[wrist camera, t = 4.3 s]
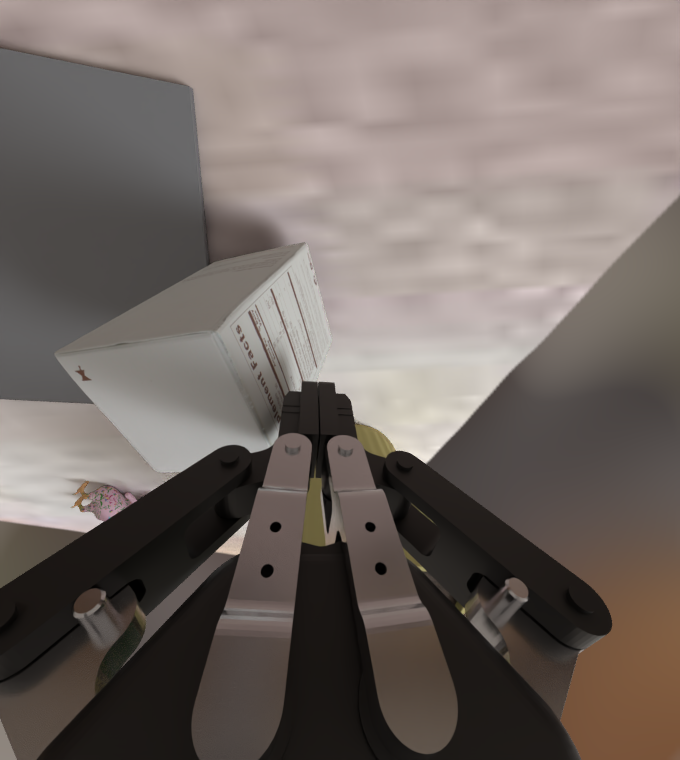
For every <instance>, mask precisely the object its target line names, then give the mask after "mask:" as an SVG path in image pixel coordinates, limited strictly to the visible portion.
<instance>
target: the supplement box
mask: <svg viewBox="0 0 680 760" xmlns="http://www.w3.org/2000/svg"><path fill="white" fill-rule="evenodd" d="M331 342H332V336H331V332H330V328H329V324H328V321H327V317H326V313H325V309H324V305H323V302H322V298H321V294H320V290H319V286H318V282H317V278H316V274H315V271H314V267H313V263H312V260H311V256H310V252H309V248H308V245H307V243H299V244H294V245H288V246H283V247H279V248H274V249H269V250H265V251H260V252H256V253H251V254H247V255H242V256H238V257H233V258H229V259H224V260H220V261H215V262H213V263H212V264H210V265H208V266H206V267H205V268H203V269H201V270H199V271H197V272H196V273H194V274H192V275H191V276H189V277H187V278H185V279H184V280H182V281H180V282H178V283H176V284H174V285H173V286H171V287H169V288H167V289H166V290H164V291H162V292H160V293H159V294H157V295H155V296H153V297H151V298H150V299H148V300H146V301H144V302H143V303H141V304H139V305H137V306H135V307H134V308H132V309H130V310H128V311H127V312H125V313H123V314H121V315H120V316H118V317H116V318H114V319H112V320H111V321H109V322H107V323H105V324H103V325H102V326H100V327H98V328H96V329H95V330H93V331H91V332H89V333H87V334H86V335H84V336H82V337H80V338H79V339H77V340H75V341H73V342H72V343H70V344H68V345H66V346H65V347H63V348H61V349H59V350H57V351H56V352H55V353H54V355H55V357H56V358H57V360H58V361H59V363H60V364H61V365H62V366H63V368H64V369H65V370H66V371H67V373H68V374H69V375H70V376H71V378H72V379H73V380H74V381H75V382H76V383H77V385H78V386H79V387H80V388H81V389H82V390H83V392H84V393H85V394H86V395H87V396H88V397H89V398H90V399H91V400H92V402H93V403H94V404H95V405H96V406H97V407H98V408H99V409H100V410H101V412H102V413H103V414H104V415H105V416H106V417H107V418H108V419H109V420H110V421H111V423H112V424H113V425H114V426H115V427H116V428H117V429H118V430H119V432H120V433H121V434H122V435H123V436H124V437H125V438H126V439H127V441H128V442H129V443H130V444H131V445H132V446H133V447H134V448H135V449H136V451H137V452H138V453H139V454H140V455H141V456H142V457H143V459H144V460H145V461H146V462H147V463H148V464H149V465H150V466H151V467H152V468H153V469H154V470H155V471H156V472H182V471H184V470H185V469H187V468H188V467H190V466H192V465H193V464H195V463H196V462H198V461H199V460H201V459H202V458H204V457H206V456H207V455H209V454H210V453H212V452H213V451H215V450H217V449H218V448H220V447H223V446H226V445H240V446H243V447H245V448H247V449H248V450H249V452H250V453H254V452H258V451H262V450H265V449H267V448H269V447H271V446H272V445H273V444H274V442H275V441H276V439H277V438H278V434H279V427H280V420H281V413H282V407H283V399H284V397H285V395H286V394H287V393H288V392H289V391H300V392H301V386H302V381H314V382H316V381H317V379H318V376H319V373H320V371H321V368H322V365H323V363H324V360H325V358H326V355H327V353H328V350H329V347H330V345H331Z"/></svg>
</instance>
